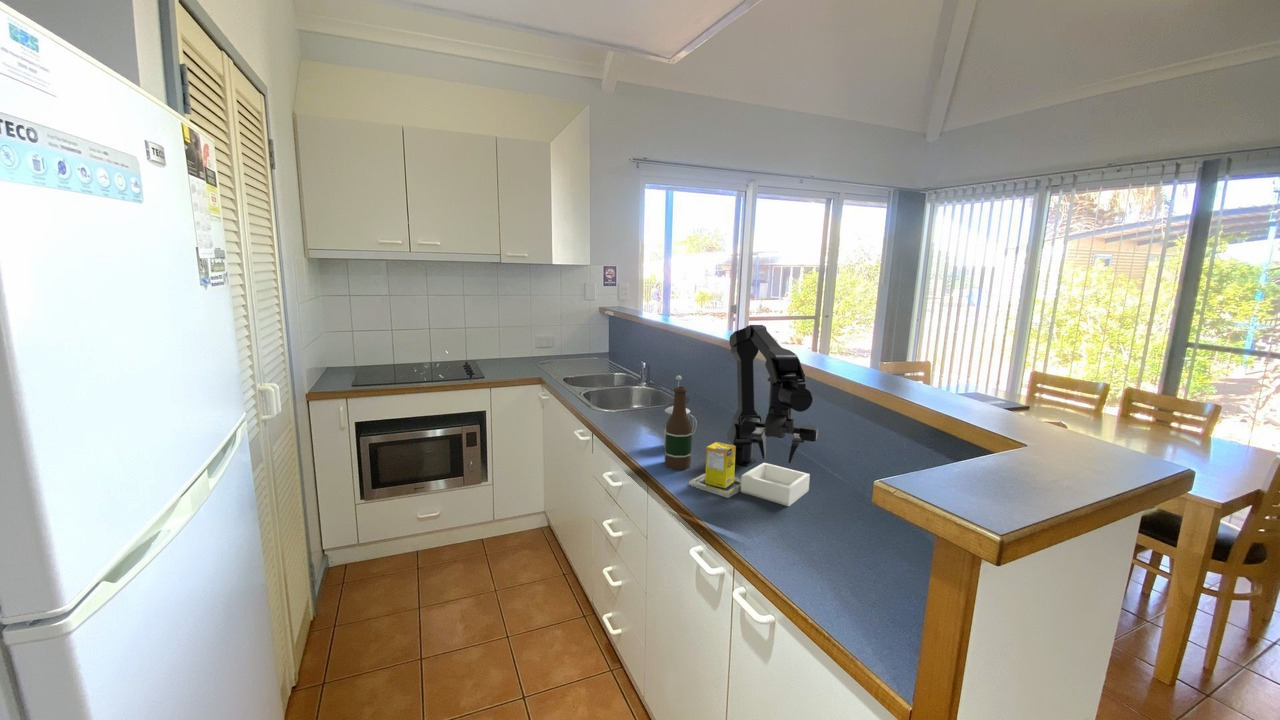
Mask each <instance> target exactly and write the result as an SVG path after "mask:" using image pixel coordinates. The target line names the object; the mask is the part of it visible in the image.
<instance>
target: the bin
mask: <svg viewBox="0 0 1280 720" xmlns="http://www.w3.org/2000/svg"><path fill="white" fill-rule="evenodd" d="M810 477H811V474H810V473H808V472H807V473H806V472H803V471H799V470H795V469H791V468H787V467H783V466H779V465H776V464H772V463H767V462H763V463H761V464H759V465H757V466H755V467H754V468H752V469H750V470H748V471H746V472H745V473H743V474H741V491H740V493H742V494H746V495H750V496H753V497H755V498H759V499H762V500H766V501H769V502H772V503H775V504H778V505H779V504H780V505H782V506H786V507H790V506H791V505H792V504H794V503H795V502H796V501H798V500H799V499H801V497H803V496H804V495H805V494H807V493H808V492H809V490H810V480H811V479H810Z"/></svg>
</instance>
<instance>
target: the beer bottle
mask: <svg viewBox="0 0 1280 720" xmlns="http://www.w3.org/2000/svg"><path fill="white" fill-rule="evenodd" d="M673 392H674V394H673V396H674V397H673V405H672V406H673V412H672V415H671V414H670V416H669V418H668V419H667V421H666V422H667V424H666V423H665V426H666V436H665V435H664V440H665V448H664V465H665V467H666V468H667V469H671V470H672V471H673V470H674V471H686V470H688V469H690V468H691V466H692V465H691V463H692V462H691V461H692V440H693V439H692V438H693V437H692V436H693V435H692V434H693V430H692V428H693V426H692V424H691V421H690V418H689V416H688V414H687V415H686V408H687V404H686V403H687V401H686V399H687V398H686V393H687V388H686V387H684V386H679V387H678V386H676V387H674V389H673ZM688 418H689V419H688Z"/></svg>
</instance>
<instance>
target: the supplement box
mask: <svg viewBox="0 0 1280 720" xmlns="http://www.w3.org/2000/svg"><path fill="white" fill-rule="evenodd" d="M705 451H706V452H705V453H706V454H705V479H704V480H705V481H704V484H705V485H708V486H712V487H715V488H718V489H721V490H725V491H728V489H729V488H731V487H732V486H734V484H735V481H734V476H735V470H736V469H735V467H736V463H735V451H736V446H733V444H727V443H723V442H718V441H715V442H714V443H711V444H710V445H708V446H706V449H705Z"/></svg>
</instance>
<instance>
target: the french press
mask: <svg viewBox="0 0 1280 720" xmlns="http://www.w3.org/2000/svg"><path fill="white" fill-rule="evenodd" d="M682 379H683V378H682V375H676V377H675V380H677V381H678V383H677V387H680V381H681V380H682ZM664 412H665V413H666V414H668V415H670V416H671V415H672V412H673V405H672V406H668V407H667V408H665V409H664ZM690 413H691V410H690V409H689V408H687V407H686V415H687V416H688V419H689V420H690V417H691V418H692V421H693V423H692V424H693V426H692V431H693V430H694V431H693V432H692V436H693V435H694V434H695V432H696V431H697V427H698V422H697V418H696V417H695V416H694V415H692V414H690ZM666 424H667V421H666V422H665V426H664V437H665V436H666ZM694 428H695V429H694ZM663 443H664V446H663V448H664V449H665V439H664V442H663Z"/></svg>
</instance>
